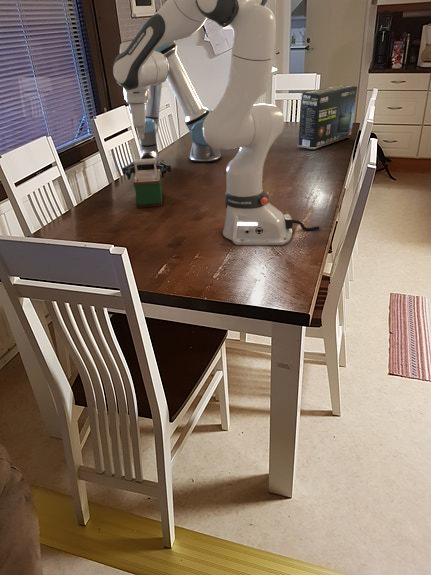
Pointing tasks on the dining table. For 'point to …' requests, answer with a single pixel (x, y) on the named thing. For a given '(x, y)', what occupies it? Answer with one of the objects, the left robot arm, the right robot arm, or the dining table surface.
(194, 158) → the left robot arm
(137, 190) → the green box
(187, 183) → the dining table surface
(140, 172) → the lid
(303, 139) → the router box
